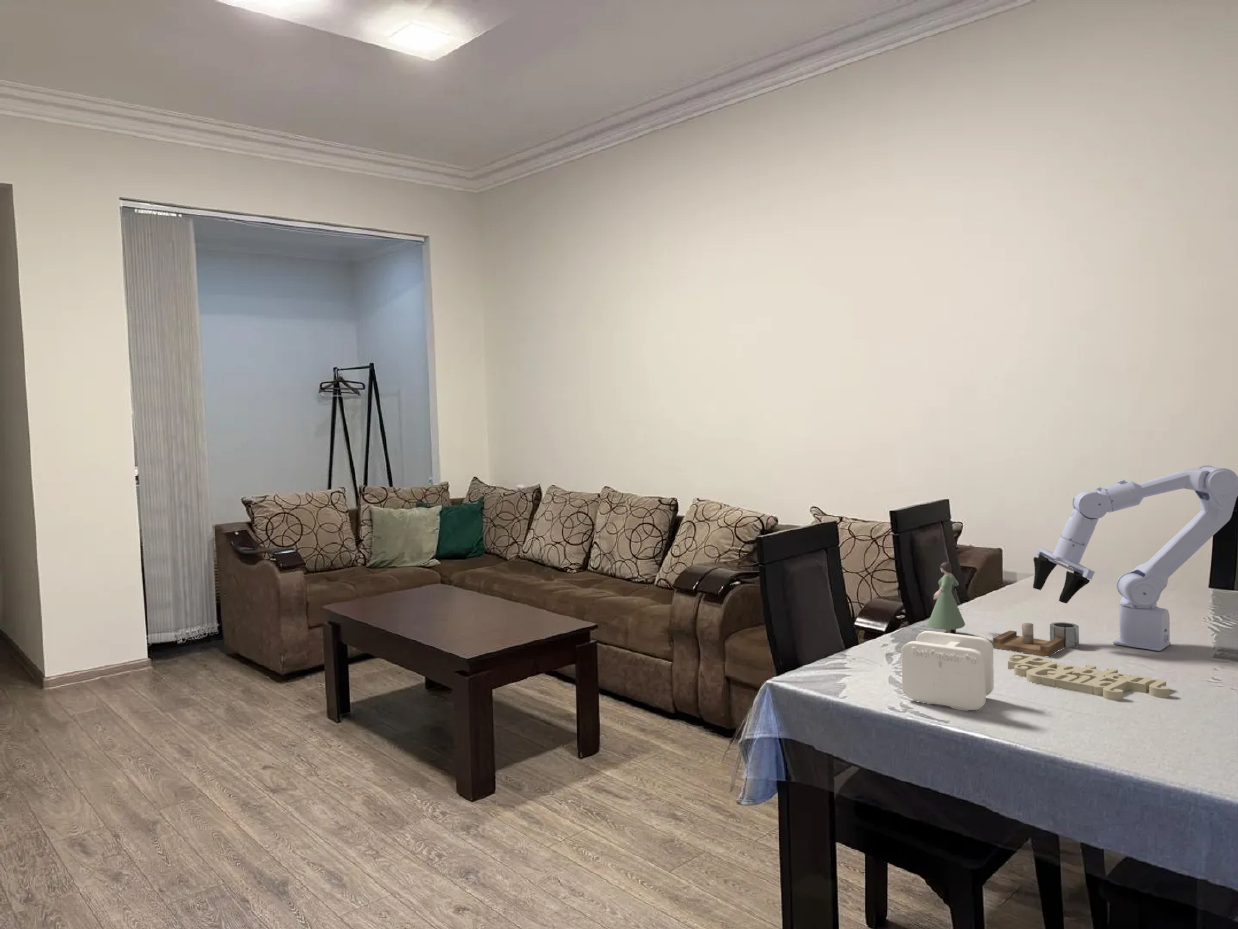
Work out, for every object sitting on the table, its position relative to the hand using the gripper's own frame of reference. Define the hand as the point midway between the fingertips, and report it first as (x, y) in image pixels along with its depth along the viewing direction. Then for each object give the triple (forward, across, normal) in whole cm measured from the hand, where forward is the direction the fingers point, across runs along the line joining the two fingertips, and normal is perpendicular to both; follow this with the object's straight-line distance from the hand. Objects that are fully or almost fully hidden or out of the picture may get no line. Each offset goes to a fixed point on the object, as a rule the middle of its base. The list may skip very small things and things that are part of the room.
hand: (1049, 595), depth 200 cm
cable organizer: (+20, +24, -43) cm, 53 cm away
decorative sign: (+11, +26, -15) cm, 32 cm away
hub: (+9, +6, +4) cm, 11 cm away
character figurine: (+18, -13, -10) cm, 25 cm away
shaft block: (+12, +4, -5) cm, 14 cm away
